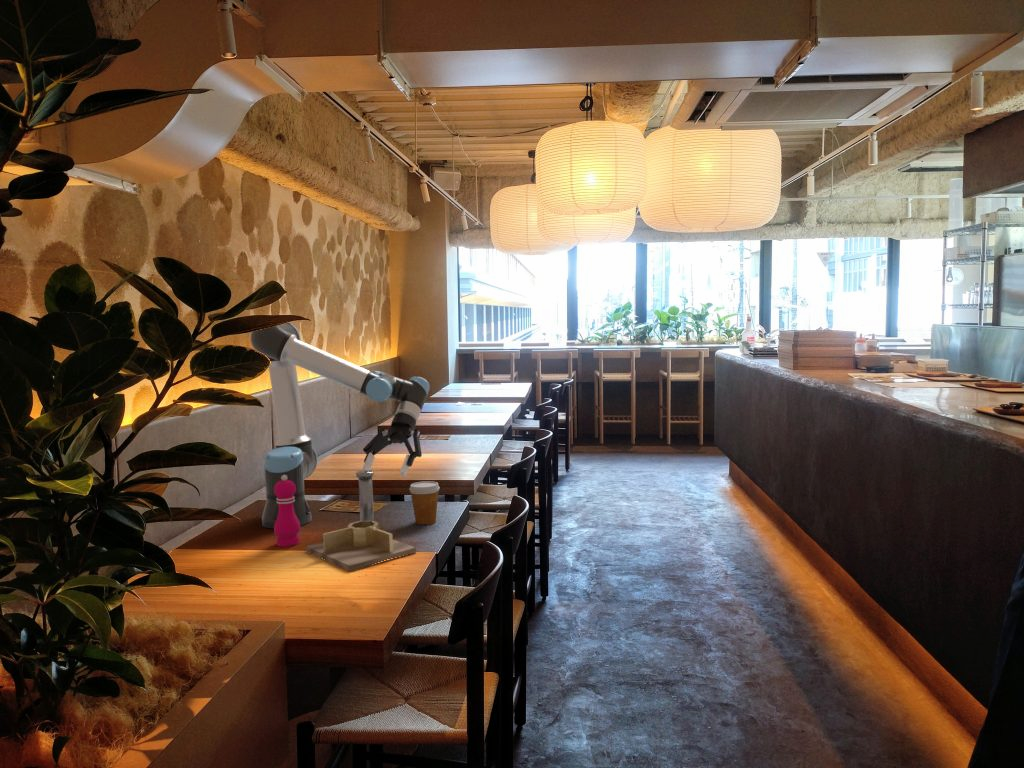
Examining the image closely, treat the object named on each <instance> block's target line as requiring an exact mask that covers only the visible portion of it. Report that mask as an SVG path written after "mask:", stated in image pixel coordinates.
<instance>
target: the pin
mask: <svg viewBox="0 0 1024 768" xmlns="http://www.w3.org/2000/svg"><path fill="white" fill-rule="evenodd" d="M374 476H375V471H374V470H371V469H370V470H363V471H362V470H358V471H356V472H355V477H356V478H357V481H358V497H359V498H358V499H359V515H360V516H359V518H360V519H359V521H375V514H374V511H375V510H374V493H373V488H374V487H373V477H374Z"/></svg>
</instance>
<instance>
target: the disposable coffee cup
mask: <svg viewBox="0 0 1024 768" xmlns="http://www.w3.org/2000/svg"><path fill="white" fill-rule="evenodd" d="M440 488H441V487H440V486H439V483H438V481H437V482H436V481H417V482H413V483H411V484H410V486H409V493H410V496H411V502H412V508H413V513H414V514H413V515H414V519H415V524H417V525H421V524H423V525H424V524H427V525H432V524H435V523H436V522H437V514H438V512H437V511H438V500H439V491H440ZM423 525H422V526H423Z"/></svg>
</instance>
